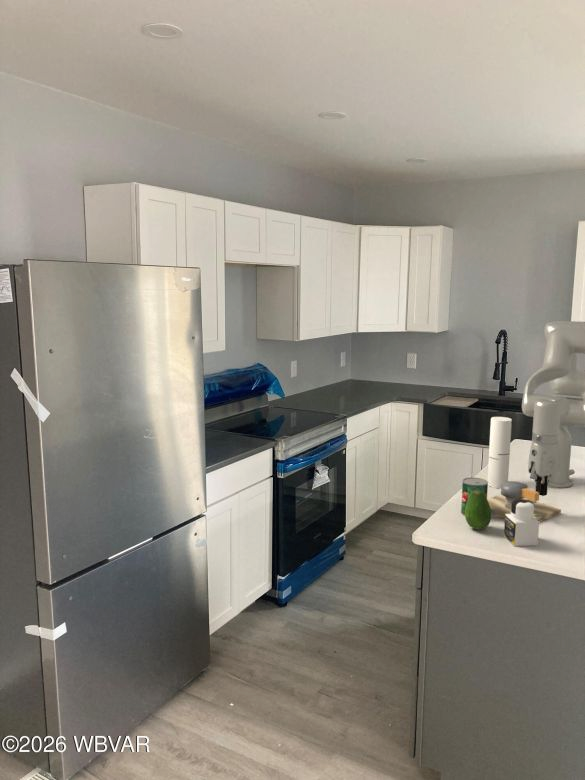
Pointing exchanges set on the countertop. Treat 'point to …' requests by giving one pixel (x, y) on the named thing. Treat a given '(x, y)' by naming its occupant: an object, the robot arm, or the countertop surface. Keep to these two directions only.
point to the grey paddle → (518, 491)
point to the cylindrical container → (499, 451)
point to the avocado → (477, 510)
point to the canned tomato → (472, 489)
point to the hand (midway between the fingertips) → (541, 494)
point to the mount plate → (541, 511)
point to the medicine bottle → (521, 524)
